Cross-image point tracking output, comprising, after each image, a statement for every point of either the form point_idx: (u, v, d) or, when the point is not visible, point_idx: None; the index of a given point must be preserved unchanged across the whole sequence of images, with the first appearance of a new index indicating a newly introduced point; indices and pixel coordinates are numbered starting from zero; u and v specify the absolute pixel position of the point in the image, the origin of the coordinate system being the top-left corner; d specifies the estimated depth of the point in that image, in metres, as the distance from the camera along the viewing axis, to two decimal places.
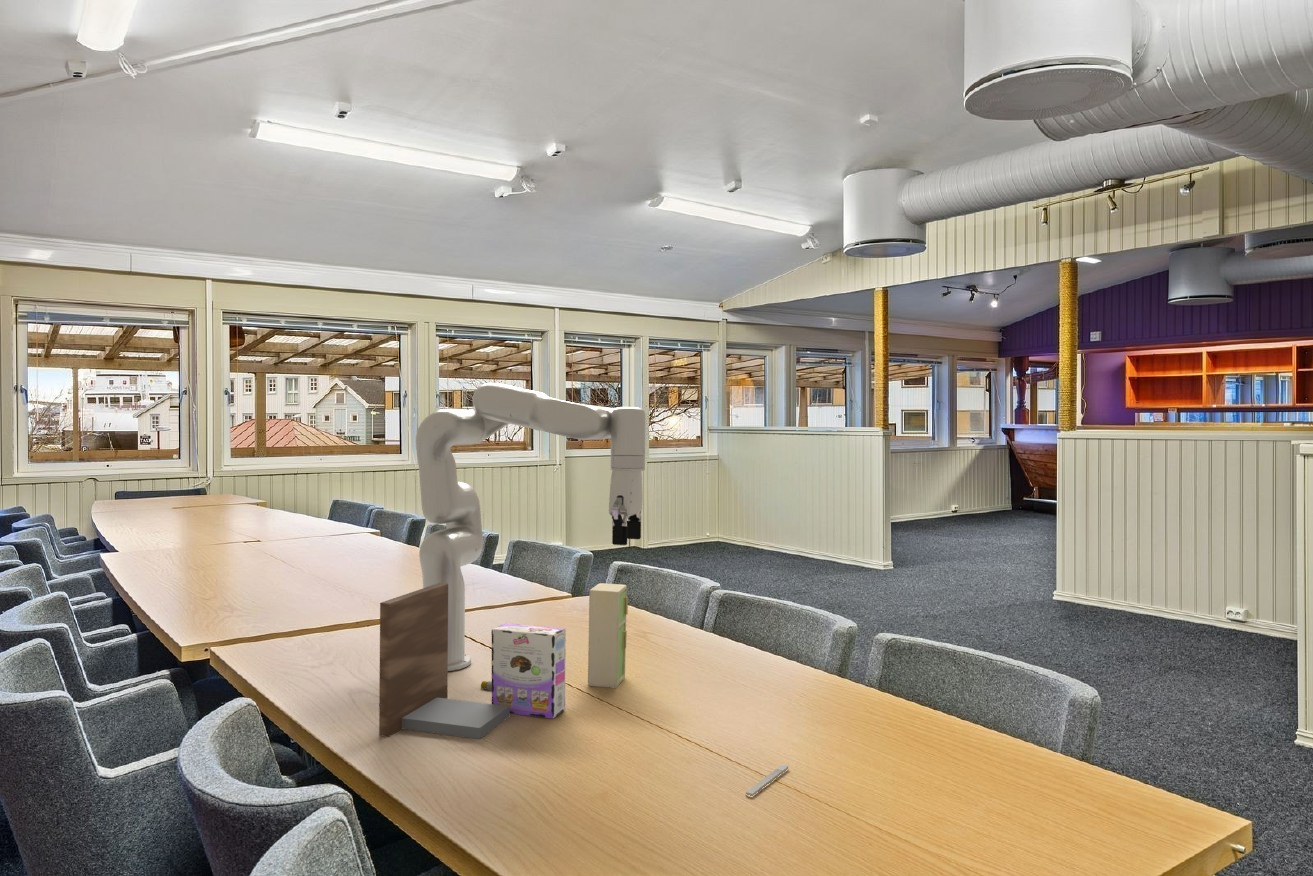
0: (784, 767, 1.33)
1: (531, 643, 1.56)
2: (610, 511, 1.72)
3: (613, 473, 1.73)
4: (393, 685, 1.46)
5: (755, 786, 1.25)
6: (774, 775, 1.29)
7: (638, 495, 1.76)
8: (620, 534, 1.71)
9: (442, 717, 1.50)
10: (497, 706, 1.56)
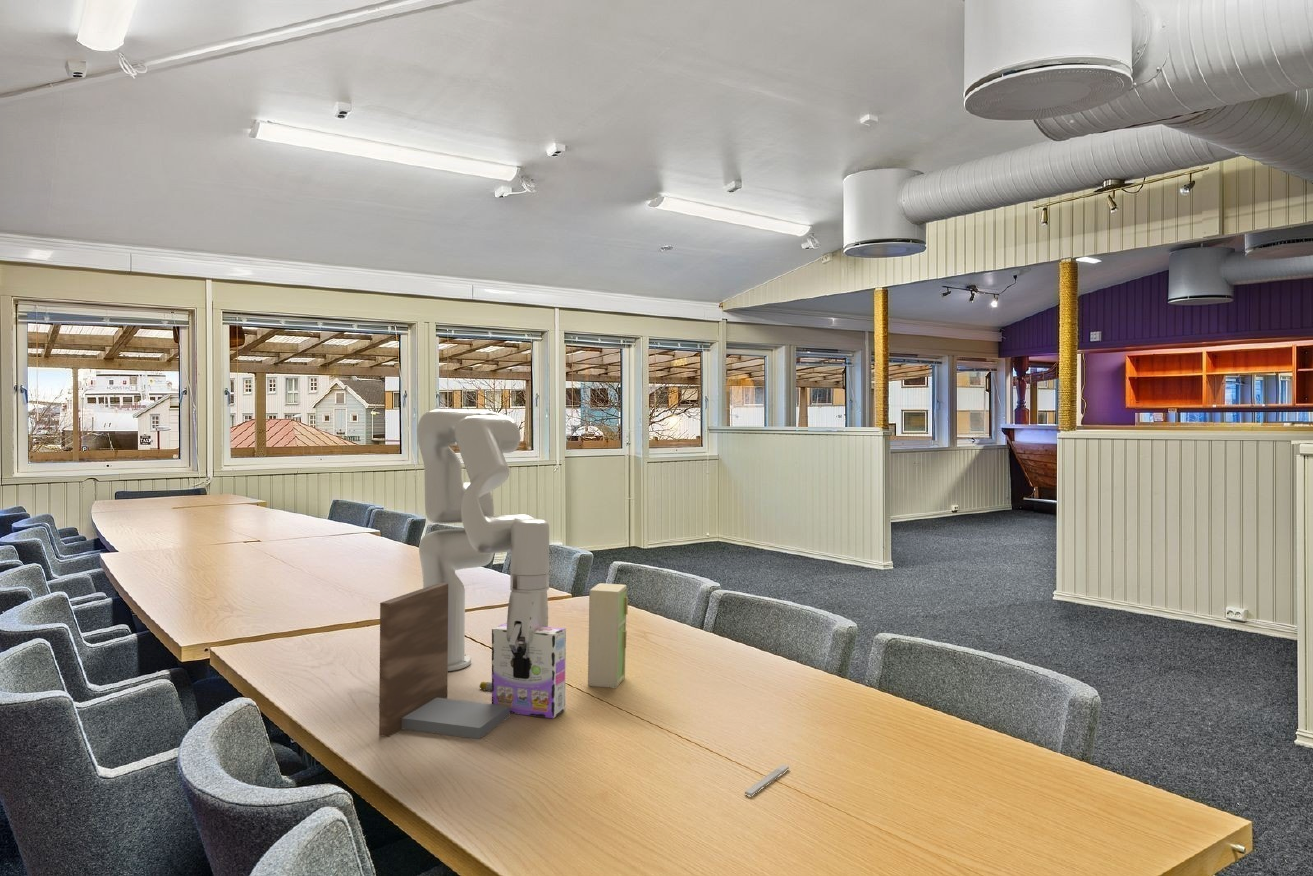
0: (784, 767, 1.32)
1: (531, 643, 1.56)
2: (507, 638, 1.55)
3: (511, 595, 1.55)
4: (393, 685, 1.46)
5: (754, 786, 1.25)
6: (774, 775, 1.29)
7: (541, 617, 1.59)
8: (521, 667, 1.55)
9: (442, 717, 1.50)
10: (497, 706, 1.56)
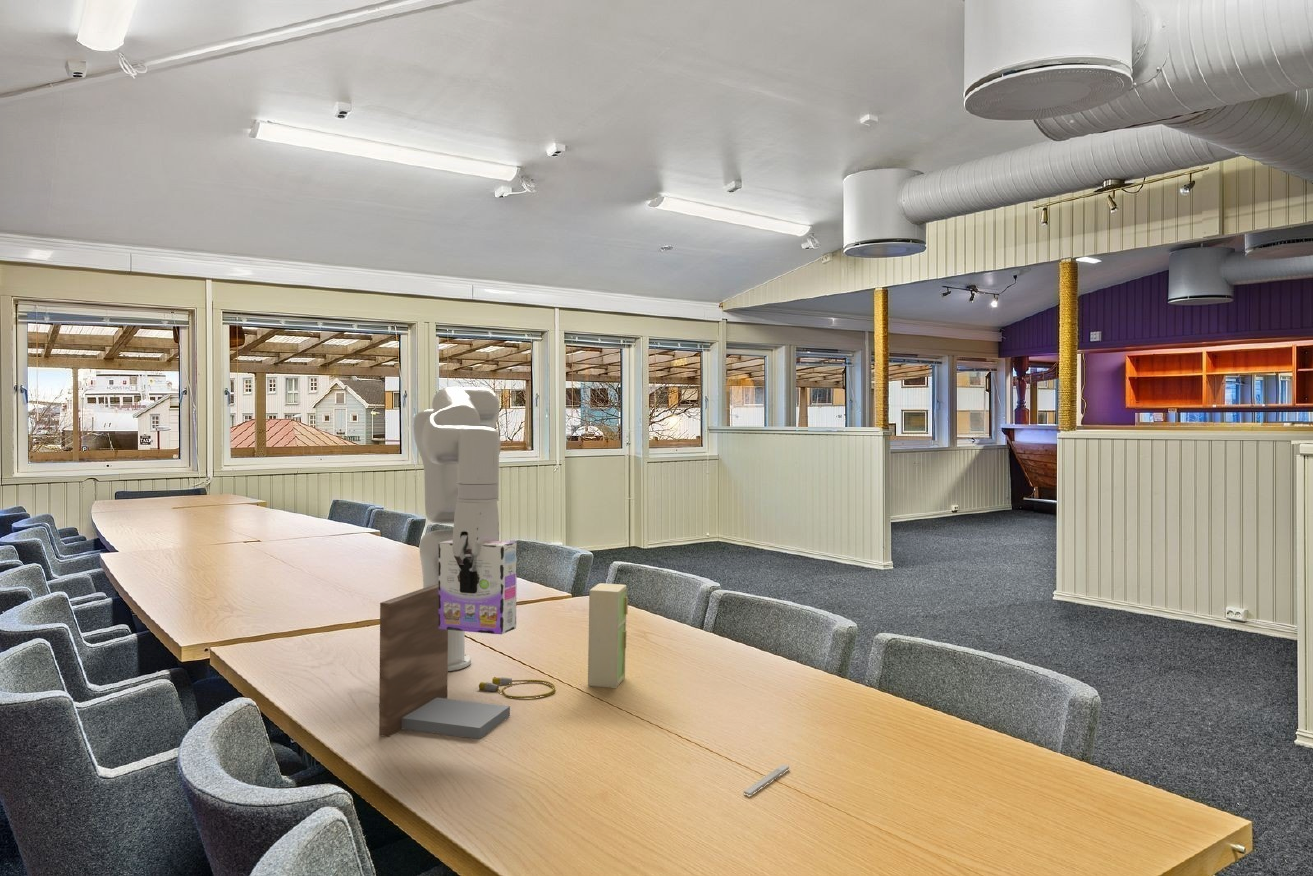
0: (785, 767, 1.32)
1: (479, 555, 1.48)
2: (453, 550, 1.47)
3: (457, 505, 1.47)
4: (393, 685, 1.46)
5: (754, 785, 1.26)
6: (774, 775, 1.29)
7: (490, 530, 1.51)
8: (468, 581, 1.47)
9: (442, 717, 1.50)
10: (497, 706, 1.56)
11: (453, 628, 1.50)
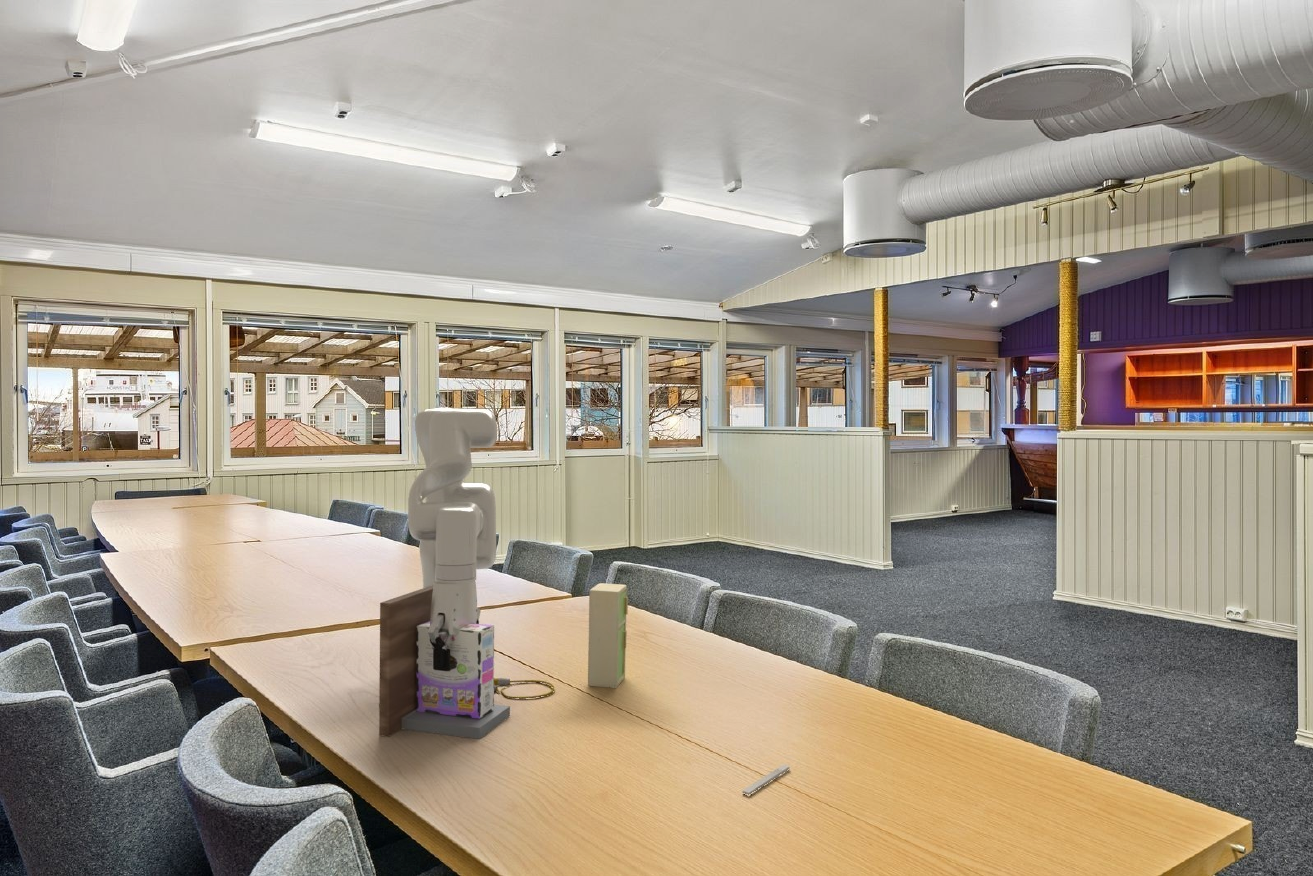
0: (785, 767, 1.32)
1: (457, 640, 1.50)
2: None
3: (435, 586, 1.49)
4: (393, 685, 1.46)
5: (753, 785, 1.26)
6: (774, 775, 1.29)
7: (468, 609, 1.52)
8: (441, 659, 1.47)
9: (442, 717, 1.50)
10: (497, 706, 1.56)
11: (431, 711, 1.51)
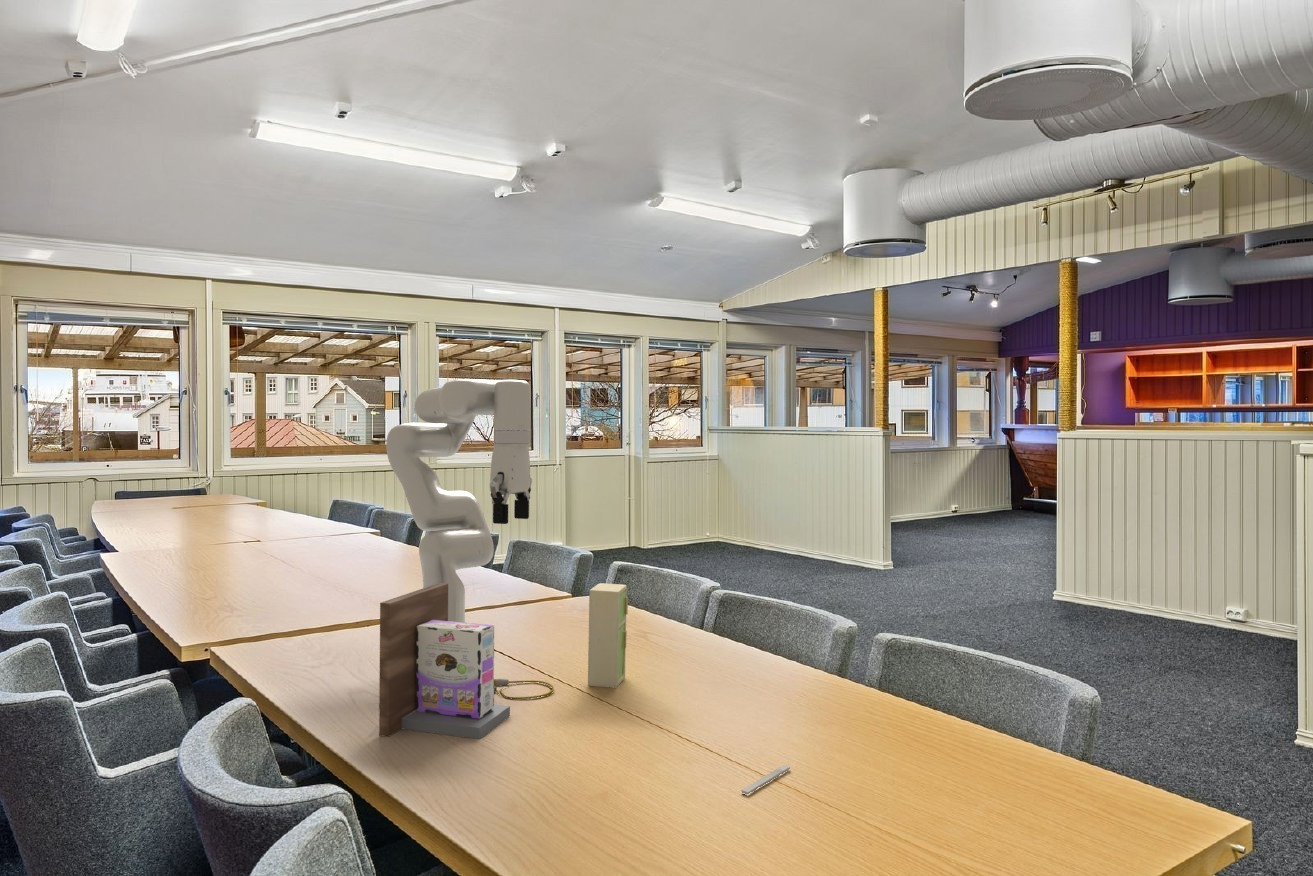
0: (785, 767, 1.32)
1: (457, 640, 1.50)
2: None
3: (494, 449, 1.65)
4: (393, 685, 1.46)
5: (752, 785, 1.26)
6: (774, 775, 1.30)
7: (523, 472, 1.68)
8: (500, 512, 1.63)
9: (442, 717, 1.50)
10: (497, 706, 1.56)
11: (431, 711, 1.51)
